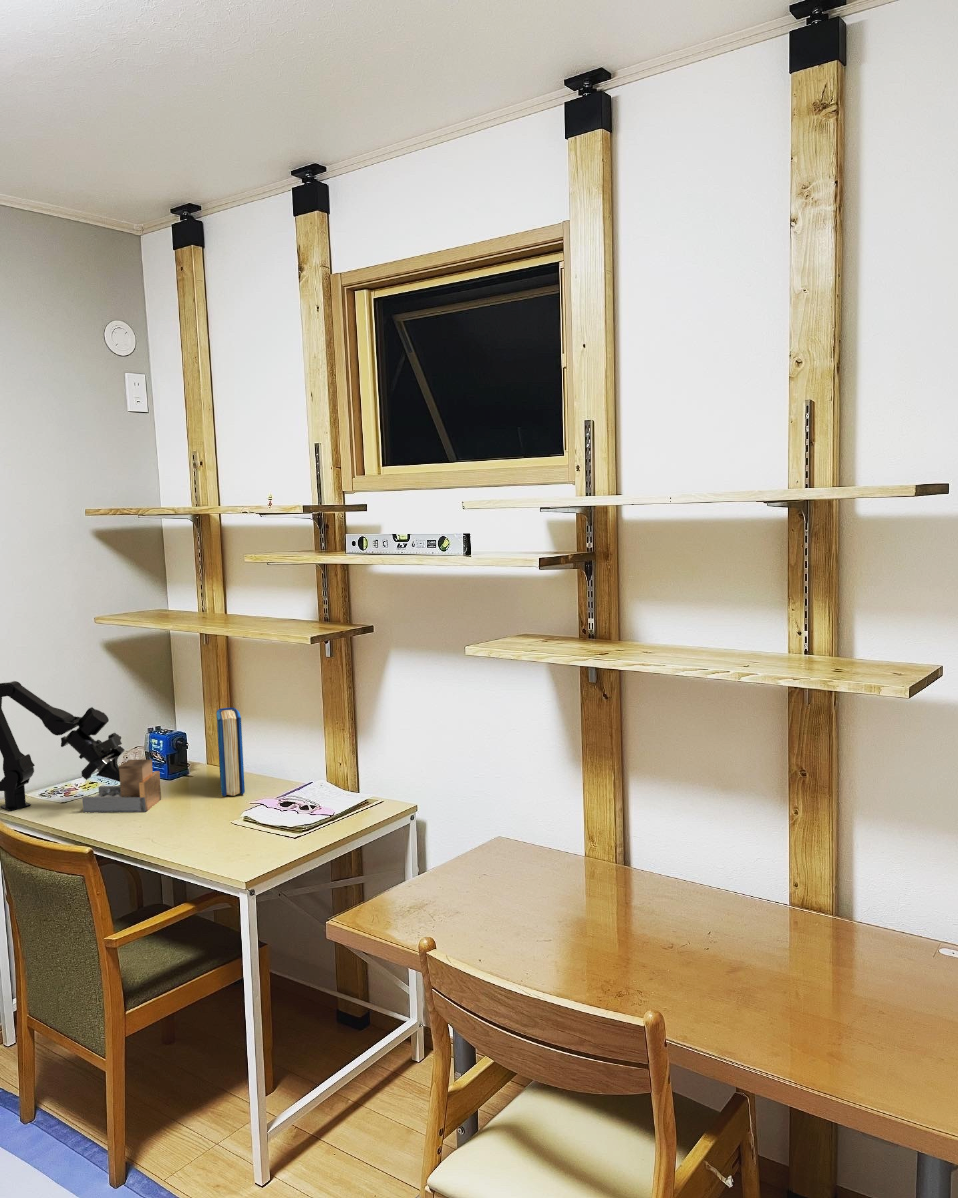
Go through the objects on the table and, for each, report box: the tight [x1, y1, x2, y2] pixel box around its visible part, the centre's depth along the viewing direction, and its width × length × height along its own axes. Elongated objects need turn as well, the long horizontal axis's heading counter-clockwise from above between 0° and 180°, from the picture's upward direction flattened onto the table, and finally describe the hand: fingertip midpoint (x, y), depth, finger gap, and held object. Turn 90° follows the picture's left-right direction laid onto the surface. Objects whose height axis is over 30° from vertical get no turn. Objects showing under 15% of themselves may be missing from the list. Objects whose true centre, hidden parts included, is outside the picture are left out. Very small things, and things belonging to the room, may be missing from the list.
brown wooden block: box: [118, 758, 154, 796], centre depth 290 cm, size 7×8×10 cm
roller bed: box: [82, 770, 162, 814], centre depth 290 cm, size 19×12×9 cm, turn 87°
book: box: [216, 707, 246, 797], centre depth 305 cm, size 22×7×25 cm, turn 17°
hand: (123, 781), depth 289 cm, fingers closed, pressing on brown wooden block
